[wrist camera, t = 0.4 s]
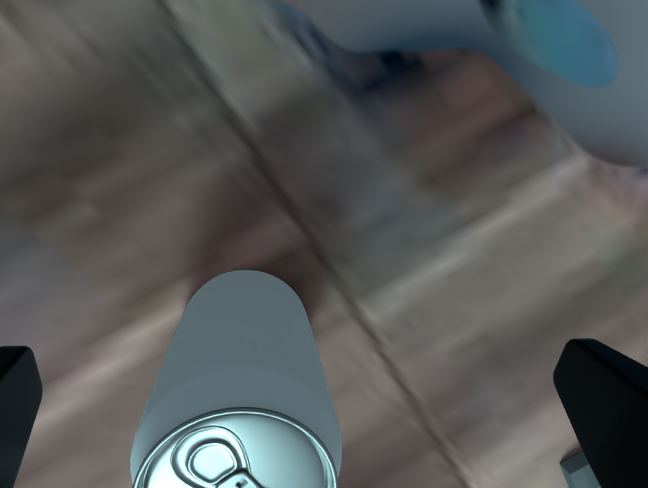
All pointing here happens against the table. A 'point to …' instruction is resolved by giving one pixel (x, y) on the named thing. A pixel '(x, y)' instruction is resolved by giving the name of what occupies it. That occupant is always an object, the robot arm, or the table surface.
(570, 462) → the housing
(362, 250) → the table surface
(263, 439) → the can
